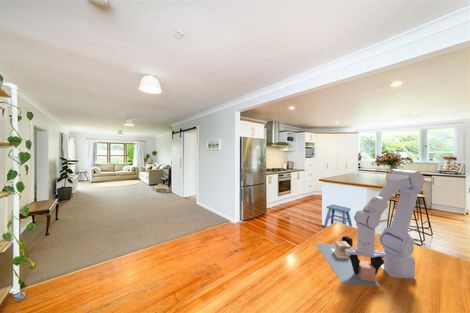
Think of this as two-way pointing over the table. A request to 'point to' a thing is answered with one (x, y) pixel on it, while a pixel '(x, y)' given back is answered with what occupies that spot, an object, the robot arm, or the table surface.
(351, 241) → the build plate
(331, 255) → the board
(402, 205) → the robot arm
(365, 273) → the terracotta cube
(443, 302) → the table surface
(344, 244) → the maple cube
